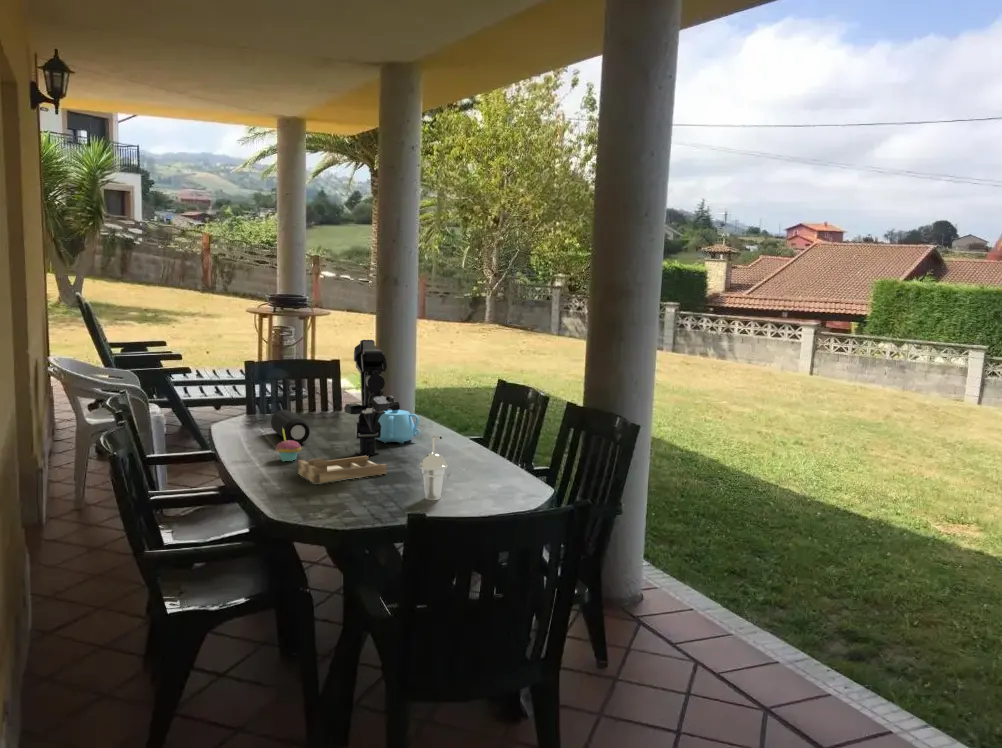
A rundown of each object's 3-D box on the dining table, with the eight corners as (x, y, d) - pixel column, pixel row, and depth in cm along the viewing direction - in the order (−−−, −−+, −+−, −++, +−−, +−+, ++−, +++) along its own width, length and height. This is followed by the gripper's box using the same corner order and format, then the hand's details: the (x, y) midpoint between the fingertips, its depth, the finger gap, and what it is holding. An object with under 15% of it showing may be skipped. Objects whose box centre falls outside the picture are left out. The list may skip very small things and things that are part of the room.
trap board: (298, 474, 262) (298, 460, 262) (367, 465, 277) (367, 451, 276) (315, 485, 251) (315, 469, 251) (386, 474, 266) (386, 459, 265)
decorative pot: (404, 435, 327) (405, 402, 325) (422, 442, 313) (423, 408, 312) (367, 439, 318) (367, 405, 316) (384, 447, 305) (384, 412, 303)
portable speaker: (311, 444, 306) (311, 419, 304) (285, 447, 301) (285, 421, 299) (293, 431, 328) (293, 407, 326) (269, 433, 323) (269, 409, 321)
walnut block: (308, 471, 259) (308, 459, 259) (321, 469, 262) (321, 457, 261) (314, 474, 256) (313, 462, 255) (327, 472, 258) (327, 460, 258)
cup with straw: (447, 494, 245) (448, 430, 243) (446, 503, 236) (447, 437, 234) (419, 493, 245) (420, 429, 242) (417, 502, 236) (418, 436, 233)
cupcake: (276, 463, 276) (275, 429, 274) (276, 457, 284) (275, 424, 282) (301, 462, 278) (301, 429, 276) (301, 456, 286) (300, 424, 285)
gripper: (358, 392, 261) (358, 438, 263) (408, 388, 272) (407, 433, 274) (343, 387, 270) (343, 432, 272) (392, 383, 281) (392, 427, 283)
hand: (372, 431), depth 275 cm, fingers closed
